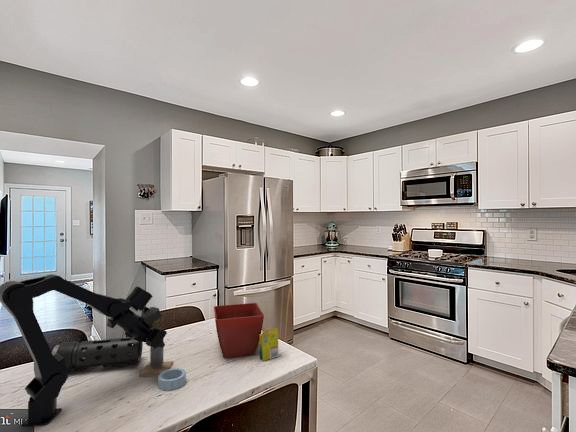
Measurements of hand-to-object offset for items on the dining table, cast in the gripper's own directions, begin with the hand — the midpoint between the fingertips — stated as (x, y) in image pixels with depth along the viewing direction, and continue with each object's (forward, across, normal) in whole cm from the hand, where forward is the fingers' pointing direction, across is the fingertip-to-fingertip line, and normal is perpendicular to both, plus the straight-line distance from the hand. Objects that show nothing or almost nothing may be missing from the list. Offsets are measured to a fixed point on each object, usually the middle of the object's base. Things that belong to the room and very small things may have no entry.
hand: (160, 344), depth 112 cm
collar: (+4, -13, +9) cm, 16 cm away
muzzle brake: (-3, +19, +16) cm, 25 cm away
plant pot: (+26, -12, -14) cm, 32 cm away
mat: (+5, 0, +7) cm, 9 cm away
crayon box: (+28, -27, -15) cm, 41 cm away
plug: (+4, 0, +6) cm, 7 cm away
